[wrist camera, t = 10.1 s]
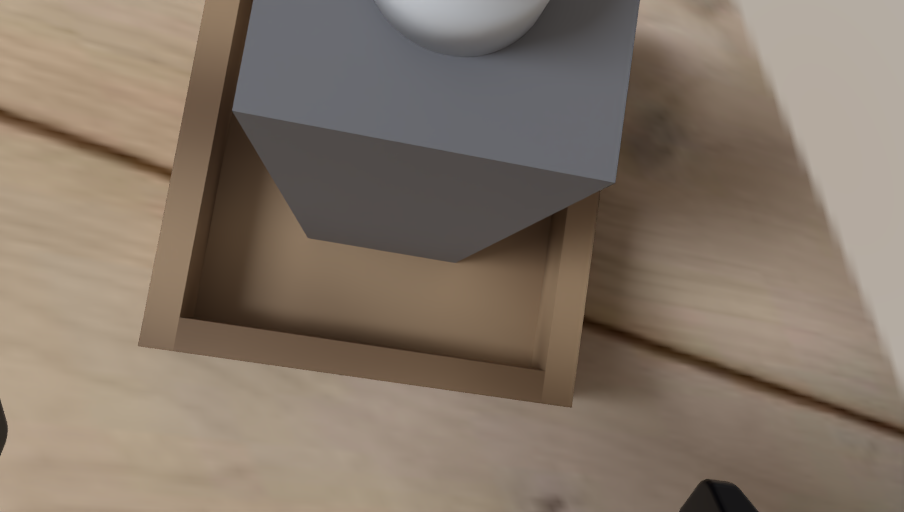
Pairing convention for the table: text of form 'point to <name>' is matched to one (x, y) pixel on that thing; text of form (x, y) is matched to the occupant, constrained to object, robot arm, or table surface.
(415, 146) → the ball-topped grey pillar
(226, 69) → the wooden tray
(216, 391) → the table surface
